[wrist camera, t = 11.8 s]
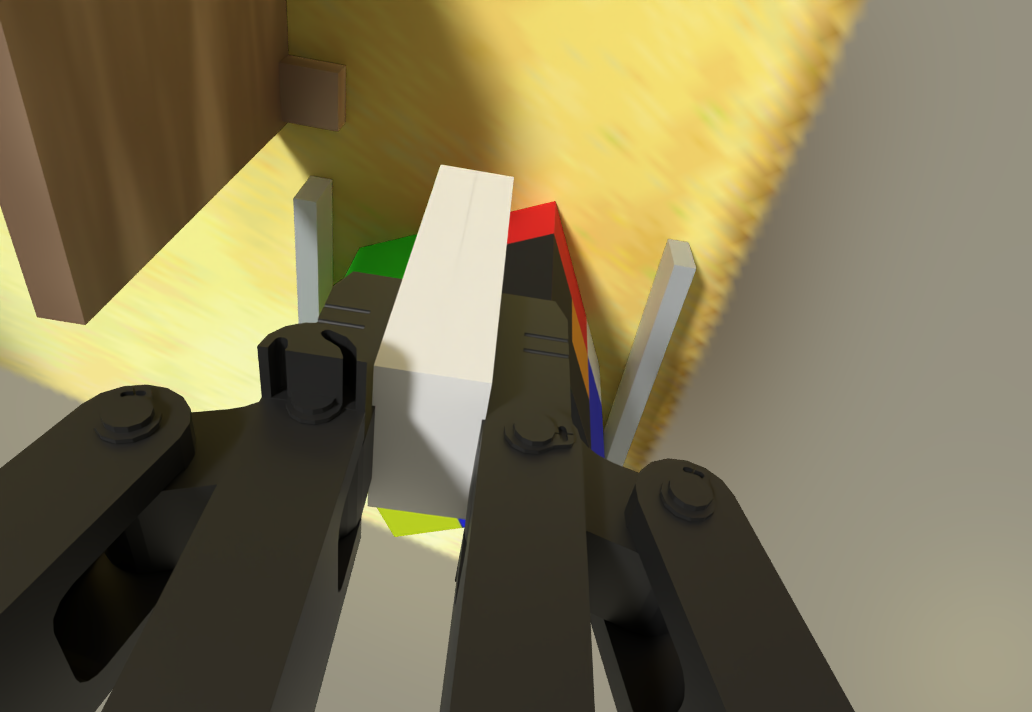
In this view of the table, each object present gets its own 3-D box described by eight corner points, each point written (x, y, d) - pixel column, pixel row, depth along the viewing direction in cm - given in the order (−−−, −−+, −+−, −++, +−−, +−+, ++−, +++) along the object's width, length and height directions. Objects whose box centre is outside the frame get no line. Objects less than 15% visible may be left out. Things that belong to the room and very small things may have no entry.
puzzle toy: (599, 365, 37) (607, 507, 29) (429, 396, 39) (394, 536, 31) (555, 200, 32) (550, 321, 24) (359, 247, 34) (295, 372, 26)
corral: (316, 399, 40) (303, 428, 38) (310, 175, 31) (293, 198, 29) (615, 447, 41) (617, 478, 39) (688, 242, 32) (696, 268, 30)
